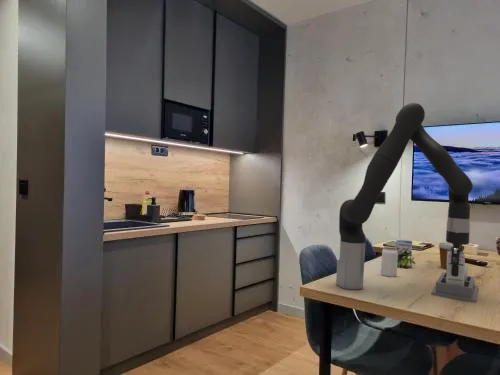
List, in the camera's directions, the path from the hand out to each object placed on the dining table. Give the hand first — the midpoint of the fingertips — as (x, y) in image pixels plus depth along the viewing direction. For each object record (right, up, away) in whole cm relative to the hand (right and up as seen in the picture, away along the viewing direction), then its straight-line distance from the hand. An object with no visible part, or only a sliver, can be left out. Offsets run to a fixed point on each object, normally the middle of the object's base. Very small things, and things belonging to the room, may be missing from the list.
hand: (455, 273), depth 141 cm
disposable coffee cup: (+21, -8, +46) cm, 52 cm away
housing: (+2, -8, +4) cm, 9 cm away
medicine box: (+12, -7, +78) cm, 79 cm away
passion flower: (0, -7, +47) cm, 48 cm away
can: (-15, -7, +26) cm, 31 cm away
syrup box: (0, -7, 0) cm, 7 cm away
